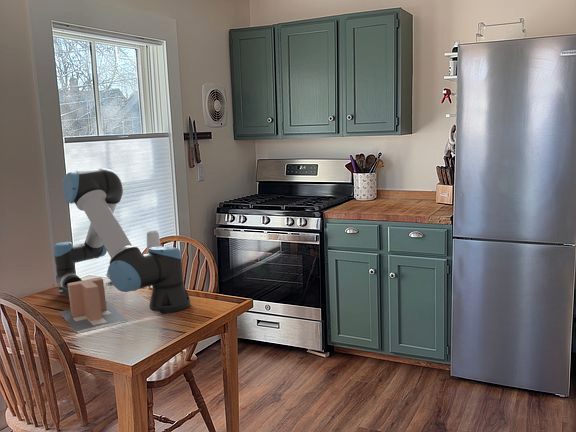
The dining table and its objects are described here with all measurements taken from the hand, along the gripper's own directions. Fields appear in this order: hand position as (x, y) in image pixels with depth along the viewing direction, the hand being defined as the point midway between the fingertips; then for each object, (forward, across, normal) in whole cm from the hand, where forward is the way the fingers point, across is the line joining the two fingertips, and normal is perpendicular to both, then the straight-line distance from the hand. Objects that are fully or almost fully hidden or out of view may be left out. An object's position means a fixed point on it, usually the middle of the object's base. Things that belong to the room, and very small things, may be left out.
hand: (84, 296), depth 217 cm
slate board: (+7, 0, -7) cm, 10 cm away
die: (-41, -23, -7) cm, 47 cm away
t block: (+7, 0, -6) cm, 9 cm away
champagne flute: (-18, -34, -7) cm, 39 cm away
